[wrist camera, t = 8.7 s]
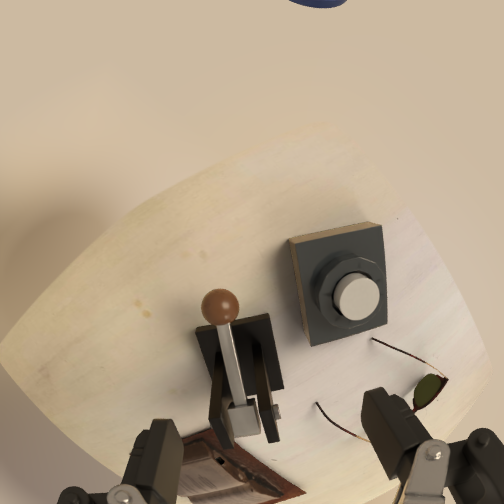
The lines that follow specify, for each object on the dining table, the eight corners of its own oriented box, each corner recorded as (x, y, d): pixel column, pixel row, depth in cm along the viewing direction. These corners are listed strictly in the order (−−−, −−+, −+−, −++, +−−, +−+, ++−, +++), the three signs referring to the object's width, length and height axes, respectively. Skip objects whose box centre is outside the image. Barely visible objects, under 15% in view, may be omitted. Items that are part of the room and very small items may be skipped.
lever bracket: (196, 326, 30) (177, 396, 18) (268, 312, 30) (286, 379, 18) (219, 394, 32) (215, 466, 20) (282, 382, 32) (300, 454, 20)
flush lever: (202, 294, 25) (194, 290, 22) (236, 287, 25) (232, 283, 22) (232, 427, 22) (228, 440, 19) (266, 421, 22) (266, 435, 19)
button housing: (288, 238, 28) (299, 247, 23) (367, 221, 28) (391, 227, 23) (304, 332, 30) (315, 356, 26) (375, 312, 31) (395, 331, 26)
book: (216, 421, 33) (213, 445, 29) (307, 490, 38) (309, 507, 33) (128, 448, 36) (120, 465, 31) (225, 510, 40) (223, 525, 36)
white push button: (331, 278, 24) (337, 284, 23) (370, 268, 24) (378, 273, 23) (335, 317, 25) (341, 325, 24) (372, 306, 25) (380, 313, 24)
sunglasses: (375, 429, 35) (384, 449, 30) (307, 403, 34) (312, 426, 29) (434, 363, 33) (450, 379, 28) (374, 323, 32) (390, 340, 27)
